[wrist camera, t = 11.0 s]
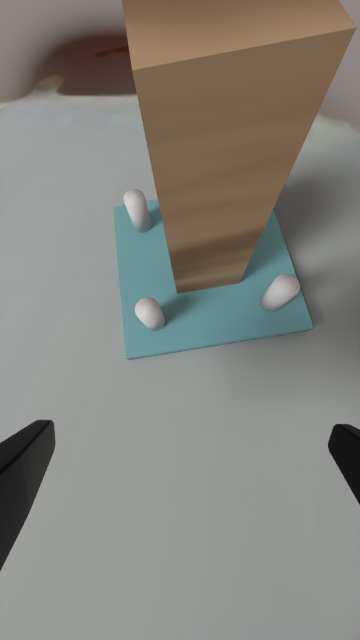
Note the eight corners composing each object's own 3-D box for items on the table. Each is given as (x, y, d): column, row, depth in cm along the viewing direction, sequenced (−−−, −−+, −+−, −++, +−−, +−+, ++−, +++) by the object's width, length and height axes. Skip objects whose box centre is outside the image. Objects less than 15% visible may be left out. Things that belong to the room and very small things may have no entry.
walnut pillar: (239, 283, 17) (356, 27, 5) (176, 294, 17) (132, 70, 5) (225, 230, 19) (289, -75, 6) (168, 240, 19) (116, -41, 6)
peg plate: (307, 330, 17) (340, 316, 13) (130, 359, 17) (111, 353, 13) (260, 189, 21) (276, 146, 17) (117, 215, 21) (99, 178, 17)
